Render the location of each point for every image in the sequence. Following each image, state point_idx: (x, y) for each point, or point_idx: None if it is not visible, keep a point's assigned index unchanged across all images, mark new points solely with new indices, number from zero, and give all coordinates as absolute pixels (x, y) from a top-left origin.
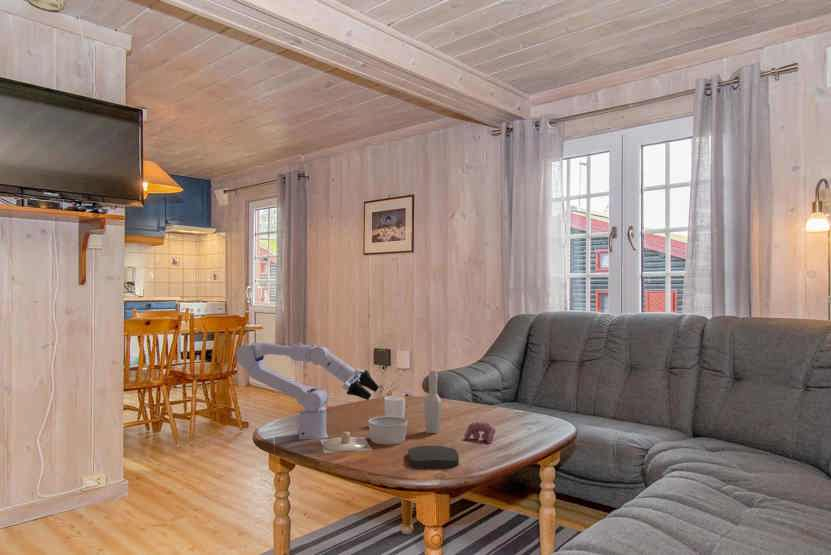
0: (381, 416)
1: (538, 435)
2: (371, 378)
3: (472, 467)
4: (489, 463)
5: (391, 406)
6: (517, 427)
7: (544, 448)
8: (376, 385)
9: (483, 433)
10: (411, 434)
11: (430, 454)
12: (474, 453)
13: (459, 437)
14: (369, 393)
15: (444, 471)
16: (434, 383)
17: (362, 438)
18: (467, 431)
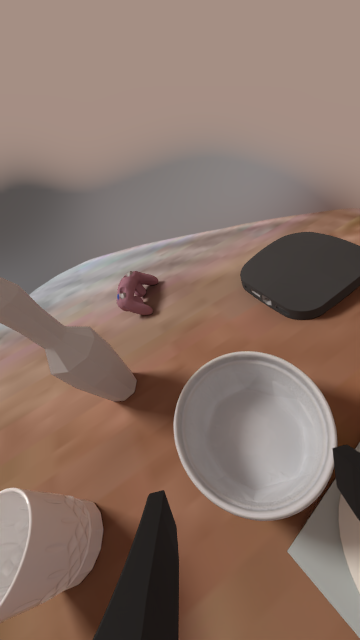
0: (201, 490)
1: (99, 272)
2: (109, 634)
3: (279, 232)
4: (245, 234)
5: (51, 539)
6: (66, 305)
7: (150, 243)
8: (162, 510)
9: (137, 289)
10: (158, 417)
11: (319, 254)
12: (215, 266)
13: (141, 327)
14: (357, 457)
15: (333, 235)
16: (38, 306)
17: (309, 547)
18: (141, 303)
